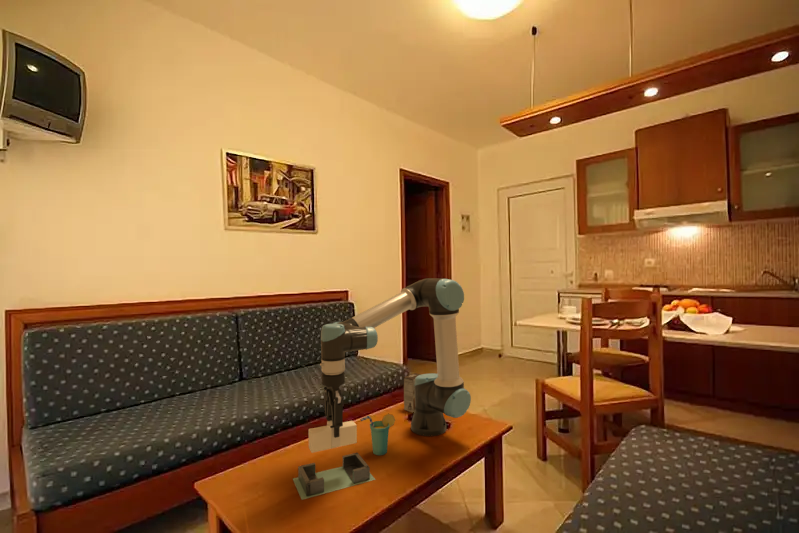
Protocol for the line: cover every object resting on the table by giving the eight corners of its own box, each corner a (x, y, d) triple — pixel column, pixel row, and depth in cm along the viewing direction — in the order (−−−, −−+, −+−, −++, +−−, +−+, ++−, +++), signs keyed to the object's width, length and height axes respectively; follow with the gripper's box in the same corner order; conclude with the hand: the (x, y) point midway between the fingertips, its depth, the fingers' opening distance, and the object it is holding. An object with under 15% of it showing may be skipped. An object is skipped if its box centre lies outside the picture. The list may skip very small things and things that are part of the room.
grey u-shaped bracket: (357, 463, 139) (357, 452, 139) (369, 479, 129) (369, 467, 129) (342, 467, 137) (342, 455, 137) (354, 483, 126) (354, 471, 126)
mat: (361, 462, 141) (361, 461, 141) (375, 480, 129) (375, 479, 129) (292, 479, 130) (292, 478, 130) (301, 501, 118) (301, 499, 118)
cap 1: (306, 496, 120) (306, 483, 120) (298, 478, 130) (298, 466, 130) (324, 492, 122) (324, 479, 122) (314, 474, 132) (314, 462, 132)
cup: (366, 463, 140) (365, 421, 140) (356, 454, 147) (355, 414, 147) (399, 452, 148) (398, 412, 148) (388, 444, 154) (388, 406, 154)
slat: (352, 438, 134) (352, 420, 134) (356, 442, 131) (356, 424, 131) (308, 447, 127) (308, 429, 127) (311, 452, 124) (311, 433, 124)
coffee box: (415, 404, 198) (415, 372, 197) (425, 407, 193) (425, 375, 193) (403, 409, 191) (403, 376, 191) (413, 413, 186) (413, 379, 186)
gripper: (314, 367, 135) (315, 435, 135) (329, 380, 120) (330, 457, 120) (336, 364, 138) (336, 431, 139) (352, 377, 123) (353, 451, 123)
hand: (333, 443), depth 129 cm, fingers closed on slat, 4 cm apart
